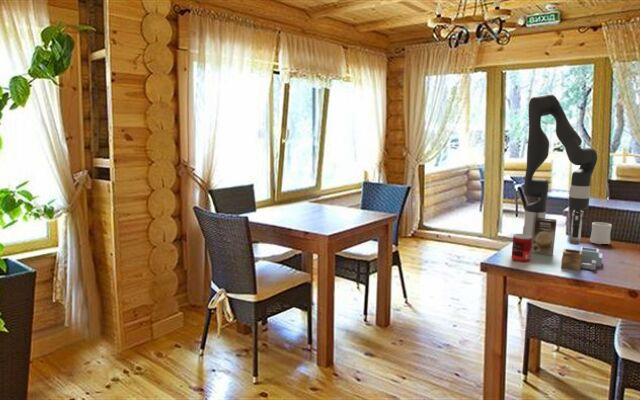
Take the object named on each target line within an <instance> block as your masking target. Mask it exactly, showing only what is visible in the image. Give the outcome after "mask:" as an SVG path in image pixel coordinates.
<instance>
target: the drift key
mask: <svg viewBox="0 0 640 400" xmlns="http://www.w3.org/2000/svg"><path fill="white" fill-rule="evenodd" d="M596 267H597V266H596V261H595V260H592V264H589V263H582V262H581V266H580V269H585V270H590V271H596Z"/></svg>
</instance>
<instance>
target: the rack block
mask: <svg viewBox="0 0 640 400" xmlns="http://www.w3.org/2000/svg"><path fill="white" fill-rule="evenodd" d="M579 250H581V251H582V260H581V262H582V263H589V264H592V260H595V261H596V267H599V268H601V267H602V262H603V261H602V260H603V253H600V252H599V251H600V249H599V248H593V247H587V246H580V249H579Z"/></svg>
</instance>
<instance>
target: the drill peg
mask: <svg viewBox="0 0 640 400" xmlns="http://www.w3.org/2000/svg"><path fill="white" fill-rule="evenodd" d="M582 224H583V221H581V224H580V226H579V227H580V228H579V234H578V238H574V237H572V233H573V228H572V226H573V223H572V222H571V225H570V226H571V227H570V233H569V234H570V235H569V244H570V245H575V246H579V245H580V243H581V237H582V236H581V233H582V227H583V226H582ZM574 225H578V224H576V223H575V224H574Z"/></svg>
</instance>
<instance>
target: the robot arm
mask: <svg viewBox="0 0 640 400" xmlns="http://www.w3.org/2000/svg"><path fill="white" fill-rule="evenodd" d="M549 115H550V116H552V118H554V120H555V135H556V137H557V139H558V140H559V142H560V143H561V144H562V146H563V147H564V149H565V153H566V156H567V158H568V160H569V162H570V163H572V165H574V166H579V168H578V169H577V170H575V171H573V172H572V174H571V180H570V181H571V183H570V186H569V194H568V195H569V196H568V202H567V203H568V205H567V206H568V207H569V208H571V209H574V210H572V213H571V216H572V218H571V223H573V226H572V228H573V233H572V237H574V238H578V234H579V228H580V227H579V226H580V224H581V221H582V219H583V215H584V211H582V209H583V210H584V209H585V210H586V209H589V205H590V197H591V178H592V174H593V172H594V170H595V168H596V166H597V161H598V154H597V150H596V149H594V148H592V147H581V145H582V143H583V140H582V138H581V137H580V135H579V134H578V132H577V131H576V130H575V128H573V126H572V125H571V123H570V121H569V119H568V118H567V115H566V113H565V111H564V109H563V108H562V105H561V104H560V102H559V99H558V98H557V97H556V96H555V95H554V94H553V93H545V94H541V95H536V96H533V97H531V98H530V100H529V103H528V138H527V146H526V147H527V150H526V170H525V177H524V185H523V193H524V194H523V195H524V196H525V197H527V198H537V199H538V198H539V199H538V200H536V201H534V202H531V203H527V204H526V205H525V211H524V221H523V222H524V224H523V226H522V234H527V235H530V236H532V244H531V248H532V246H533V238H534V228H535V220H536V217H537V218H546V214H547V213H546V211H547V200H548V194H549V186H550V184H549V180H548V179H547V178H533V177H534V175H535V173H536V172H537V170H538V169H539V168H540V167H541V166H542V165H543V164H544V162H545V161H546V160H547V159H548V156H549V151H550V140H549V137H548V136H547V135H546V133H545V132H544V130H543V129H542V125H541V123H542V117H546V116H549ZM582 222H583V221H582ZM575 223H576V224H578V225H574V224H575Z"/></svg>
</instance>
